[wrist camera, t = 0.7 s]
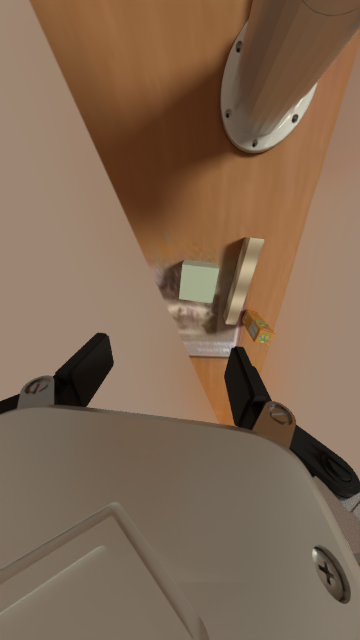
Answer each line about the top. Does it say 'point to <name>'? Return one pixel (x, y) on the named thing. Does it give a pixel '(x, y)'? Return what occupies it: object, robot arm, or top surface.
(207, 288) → the green block
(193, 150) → the top surface
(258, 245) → the birch board
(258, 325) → the supplement box
